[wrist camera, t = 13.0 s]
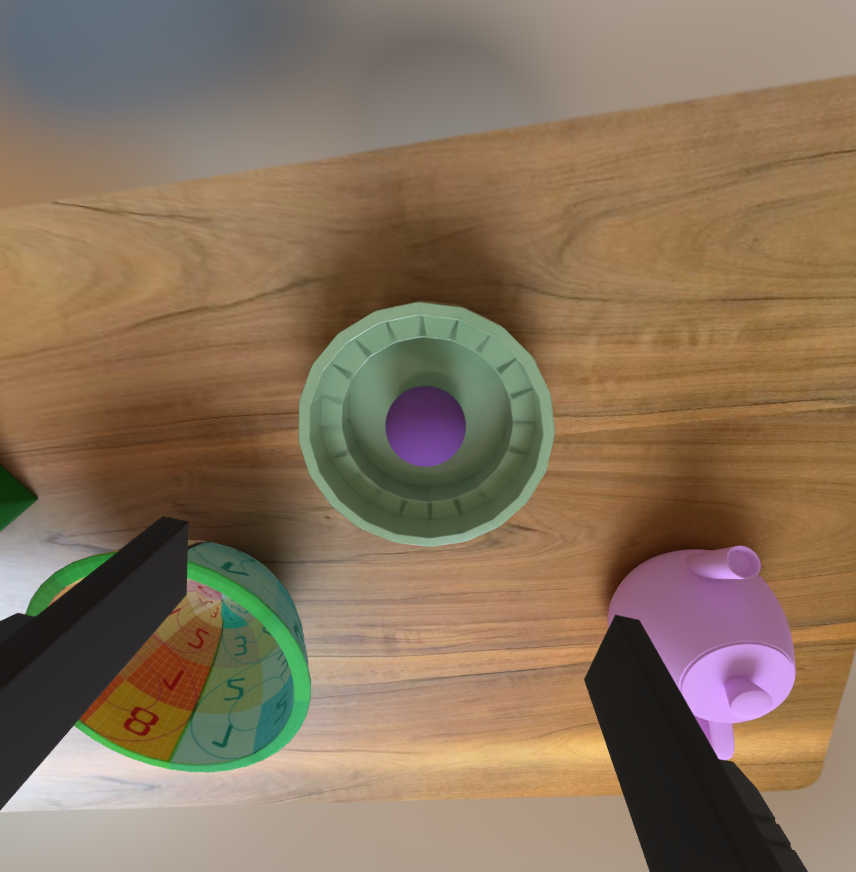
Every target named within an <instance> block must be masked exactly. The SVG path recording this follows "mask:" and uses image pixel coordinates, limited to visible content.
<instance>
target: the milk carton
mask: <svg viewBox="0 0 856 872" xmlns="http://www.w3.org/2000/svg"><path fill="white" fill-rule="evenodd" d="M36 500H38V498H37V497H36V496H34V495H33V494H32V493H31V492H30V491H29V490H28V489H27V488H26V487H24V486H23V485H22V484H21V483H20V482H19V481H18V480H17V479H15V478H14V477H13V476H12V475H11V474H10V473H9V472H8V471H7V470H5V469H4V468H3V467H2V466H1V465H0V532H1V531H2V530H3V529H4V528H5V527H6V526H8V525H9V524H10V523H11V522H12V521H13V520H14V519H16V518H17V517H18V516H19V515H20V514H21V513H23V512H24V511H25V510H26V509H27V508H28V507H30V506H31V505H32V504H33V503H34V502H35V501H36Z"/></svg>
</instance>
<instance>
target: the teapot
mask: <svg viewBox="0 0 856 872" xmlns="http://www.w3.org/2000/svg"><path fill="white" fill-rule="evenodd" d="M760 569H761V562H760V559H759V557H758V556H757V554H756V553H755V552H754V551H753V550H751V549H750V548H748V547H745V546H734V547H729V548H723V549H718V550H713V551H712V550H701V549H696V550H680V551H673V552H668V553H664V554H661V555H658V556H655V557H653V558H651V559H648V560H646V561H645V562H643V563H641V564H640V565H638V566H637V567H636V568H634V569H633V570H632V571H631V572H630V573H629V574H628V575H627V576H626V577H625V578H624V580H623V581H622V582H621V583H620V585H619V586H618V588H617V590H616V591H615V593H614V595H613V598H612V600H611V603H610V606H609V612H608V628H609V626H610V624H611V622H612V620H613V618H614V616H615V615H620V616H624V617H629V618H633V619H638V620H640V622H641V623H642V625H643V627H644V629H645V630H646V632H647V634H648V636H649V637H650V639H651V641H652V643H653V644H654V646H655V648H656V650H657V651H658V653H659V655H660V657H661V658H662V660H663V662H664V664H665V665H666V667H667V669H668V671H669V672H670V674H671V676H672V678H673V679H674V681H675V683H676V685H677V686H678V688H679V690H680V692H681V693H682V695H683V697H684V699H685V700H686V702H687V704H688V706H689V707H690V709H691V711H692V713H693V715H694V716H695V718H696V720H697V722H698V723H699V725H700V727H701V729H702V730H703V732H704V734H705V736H706V737H707V739H708V741H709V743H710V744H711V746H712V748H713V750H714V751H715V753H716V755H717V757H718V758H719V759H722V760H728V759H730V758H731V757H732V756H733V753H734V735H733V727H732V723H738V722H744V721H748V720H752V719H755V718H759V717H761V716H763V715H765V714H767V713H769V712H770V711H772V710H773V709H775V708H776V707H778V706H779V705H780V704H781V703H782V702H783V701H784V700H785V699H786V697H787V696H788V694H789V693H790V691H791V689H792V687H793V684H794V680H795V657H794V650H793V643H792V637H791V633H790V629H789V626H788V622H787V619H786V616H785V614H784V612H783V609H782V607H781V605H780V603H779V601H778V600H777V598H776V596H775V595H774V593H773V592H772V590H771V589H770V588H769V586H768V585H767V584H766V582H765V581H764V580H763V578H762V577H761V576H760V575H759V572H760Z"/></svg>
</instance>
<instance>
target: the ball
mask: <svg viewBox="0 0 856 872" xmlns="http://www.w3.org/2000/svg"><path fill="white" fill-rule="evenodd" d="M385 430H386V436H387V439H388V442H389V444H390V446H391V448H392V449H393V451H394V452H395V453H396V454H397V455H398V456H399V457H400V458H401V459H403V460H404V461H406V462H408V463H410V464H413V465H416V466H423V467H428V466H435V465H438V464H441V463H443V462H445V461H447V460H448V459H450V458H451V457H452V456H453V455H454V454H455V453H456V452H457V451H458V450H459V448H460V447H461V445H462V443H463V440H464V437H465V432H466V420H465V415H464V413H463V410H462V408H461V406H460V404H459V403H458V401H457V400H456V399H455V398H454V397H453V396H452V395H450V394H449V393H448V392H446V391H444V390H442V389H440V388H437V387H432V386H419V387H414V388H412V389H409V390H407V391H405V392H404V393H402V394H401V395H400V396H398V397H397V398H396V399H395V401H394V402H393V403H392V405H391V406H390V408H389V411H388V413H387V417H386V422H385Z"/></svg>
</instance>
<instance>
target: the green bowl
mask: <svg viewBox="0 0 856 872" xmlns="http://www.w3.org/2000/svg"><path fill="white" fill-rule="evenodd" d="M419 386H432V387H437V388H440V389H442V390H444V391H446V392H448V393H449V394H450V395H452V396H453V397H454V398H455V399H456V400H457V401H458V403H459V404H460V406H461V408H462V410H463V413H464V415H465V420H466V432H465V437H464V440H463V443H462V445H461V447H460V448H459V450H458V451H457V452H456V453H455V454H454V455H453V456H452V457H451V458H450V459H448V460H447V461H445V462H443V463H441V464H438V465H435V466H428V467H423V466H416V465H413V464H410V463H408V462H406V461H404V460H403V459H401V458H400V457H399V456H398V455H397V454H396V453H395V452H394V451H393V449H392V448H391V446H390V444H389V442H388V439H387V436H386V430H385V422H386V417H387V413H388V411H389V408H390V406H391V405H392V403H393V402H394V401H395V399H396V398H397V397H398V396H400V395H401V394H402V393H404V392H405V391H407V390H409V389H412V388H414V387H419ZM554 433H555V428H554V419H553V409H552V400H551V393H550V391H549V389H548V387H547V385H546V383H545V381H544V379H543V377H542V375H541V372H540V370H539V368H538V366H537V364H536V362H535V360H534V358H533V356H532V355H531V354H530V353H529V352H528V351H527V350H526V349H525V348H524V347H523V346H522V345H521V344H520V343H519V342H518V341H517V340H516V339H515V338H514V337H513V336H512V335H511V334H510V333H509V332H508V331H507V330H506V329H505V328H504V327H502V326H501V325H499V324H498V323H496V322H495V321H493V320H491V319H489V318H487V317H485V316H483V315H481V314H479V313H477V312H475V311H472V310H470V309H468V308H466V307H464V306H462V305H459V304H451V303H443V302H435V301H427V300H421V301H416V302H411V303H407V304H402V305H397V306H392V307H388V308H384V309H380V310H377V311H374V312H372V313H371V314H369V315H367V316H366V317H364V318H362V319H361V320H359V321H357V322H356V323H354V324H352V325H351V326H349V327H347V328H346V329H344V330H342V331H341V332H339V333H338V334H337V335H336V336H335V338H334V339H333V340H332V341H331V343H330V344H329V345H328V346H327V347H326V349H325V350H324V351H323V352H322V353H321V355H320V356H319V357H318V358H317V360H316V361H315V362H314V363H313V365H312V367H311V370H310V372H309V375H308V378H307V381H306V383H305V386H304V389H303V392H302V395H301V397H300V400H299V443H300V446H301V450H302V453H303V456H304V459H305V462H306V465H307V468H308V471H309V474H310V476H311V478H312V479H313V481H314V482H315V483H316V485H317V486H318V488H319V489H320V491H321V492H322V493H323V495H324V496H325V498H326V499H327V501H328V502H329V503H330V505H331V506H332V507H334V508H335V509H336V510H337V511H339V512H340V513H341V514H342V515H344V516H345V517H346V518H347V519H349V520H350V521H351V522H352V523H354V524H355V525H356V526H358V527H359V528H361V529H363V530H365V531H368V532H370V533H373V534H375V535H377V536H380V537H382V538H385V539H387V540H389V541H392V542H395V543H403V544H411V545H419V546H427V547H429V546H430V547H433V546H440V545H447V544H454V543H461V542H466V541H468V540H471V539H473V538H475V537H477V536H480V535H482V534H484V533H486V532H489V531H491V530H493V529H495V528H497V527H499V526H501V525H502V524H503V523H504V522H505V521H506V520H508V519H509V518H510V517H511V516H512V515H513V514H515V513H516V512H517V511H518V510H519V509H520V508H521V507H523V506H524V505H525V504H526V503H527V502H528V500H529V498H530V497H531V495H532V494H533V492H534V490H535V489H536V487H537V485H538V484H539V482H540V481H541V479H542V477H543V476H544V474H545V472H546V470H547V466H548V462H549V458H550V453H551V449H552V445H553V440H554V436H555V434H554Z"/></svg>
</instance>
